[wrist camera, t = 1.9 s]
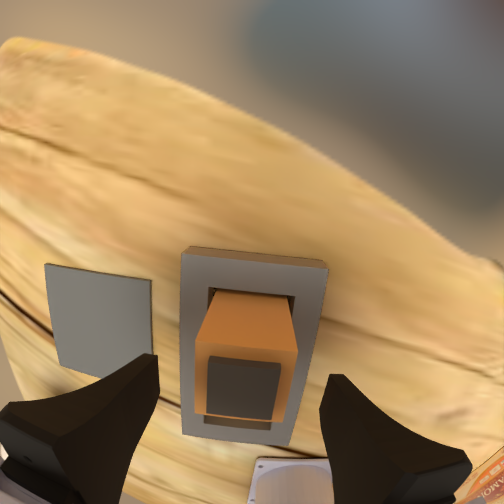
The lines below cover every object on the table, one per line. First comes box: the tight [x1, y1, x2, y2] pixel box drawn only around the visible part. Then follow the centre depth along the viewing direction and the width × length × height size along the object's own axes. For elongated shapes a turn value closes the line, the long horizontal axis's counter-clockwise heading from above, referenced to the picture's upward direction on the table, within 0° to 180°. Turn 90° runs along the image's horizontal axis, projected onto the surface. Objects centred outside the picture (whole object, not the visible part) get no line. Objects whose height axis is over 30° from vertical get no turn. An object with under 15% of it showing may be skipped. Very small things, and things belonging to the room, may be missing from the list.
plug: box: [195, 288, 298, 422], centre depth 15 cm, size 4×4×8 cm
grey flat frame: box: [180, 246, 329, 446], centre depth 19 cm, size 14×8×2 cm, turn 174°
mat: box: [44, 263, 153, 379], centre depth 20 cm, size 9×9×1 cm
